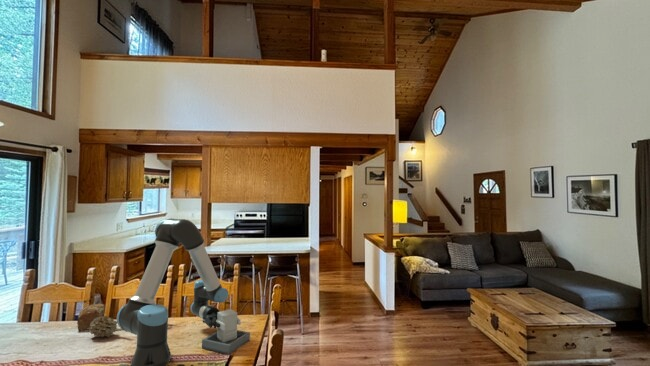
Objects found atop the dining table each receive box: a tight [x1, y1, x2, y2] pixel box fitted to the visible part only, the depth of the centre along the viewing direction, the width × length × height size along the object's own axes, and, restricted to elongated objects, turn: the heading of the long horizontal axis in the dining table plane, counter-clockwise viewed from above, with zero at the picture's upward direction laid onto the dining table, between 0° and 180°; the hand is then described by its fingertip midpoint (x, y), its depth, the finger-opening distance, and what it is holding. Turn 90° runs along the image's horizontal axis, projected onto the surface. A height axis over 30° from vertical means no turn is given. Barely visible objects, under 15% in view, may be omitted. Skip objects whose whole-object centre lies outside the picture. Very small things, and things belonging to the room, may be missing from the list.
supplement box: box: [216, 308, 238, 342], centre depth 154 cm, size 7×7×13 cm
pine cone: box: [88, 315, 124, 338], centre depth 162 cm, size 22×10×10 cm, turn 89°
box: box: [201, 329, 251, 355], centre depth 153 cm, size 16×16×4 cm
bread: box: [76, 303, 106, 331], centre depth 180 cm, size 19×11×10 cm, turn 27°
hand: (232, 324), depth 151 cm, fingers closed on supplement box, 8 cm apart
